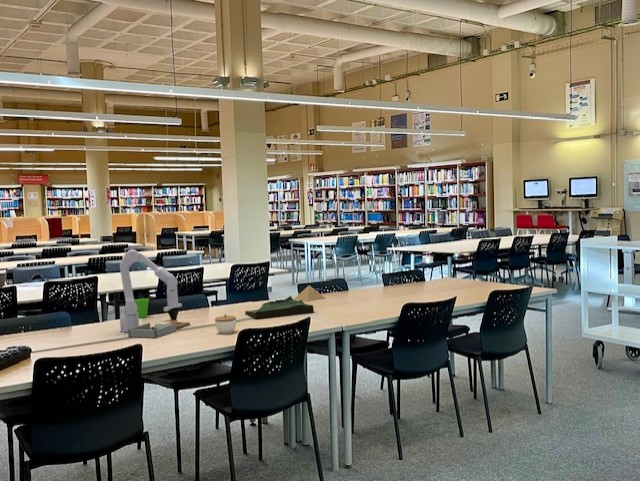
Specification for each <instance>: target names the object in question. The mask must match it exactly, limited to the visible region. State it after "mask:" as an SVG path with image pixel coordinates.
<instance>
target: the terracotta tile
mask: <svg viewBox="0 0 640 481" xmlns="http://www.w3.org/2000/svg"><path fill="white" fill-rule="evenodd" d="M161 322H171V324H175V325H177V324H178V322H179V321H178V319H176V320H171V319H165V320H163V321H161Z"/></svg>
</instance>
